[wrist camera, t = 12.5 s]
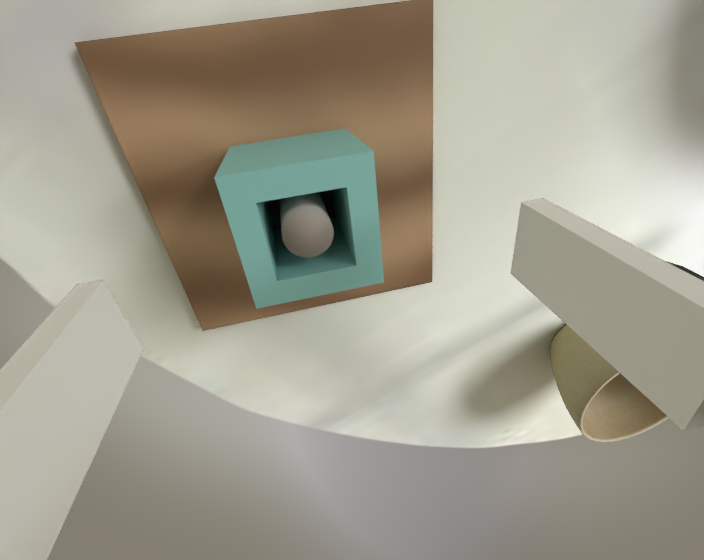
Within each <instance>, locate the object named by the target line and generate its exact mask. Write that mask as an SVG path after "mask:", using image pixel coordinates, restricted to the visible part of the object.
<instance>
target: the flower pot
mask: <svg viewBox="0 0 704 560" xmlns="http://www.w3.org/2000/svg"><path fill="white" fill-rule="evenodd" d="M550 354H551V363H552V368H553V373H554V376H555V380H556V383H557V386H558V389H559V392H560V395H561V397H562V399H563V401H564V403H565V406H566V408H567V409H568V411H569V413H570V415H571V417H572V418H573V420H574V422H575V423H576V425H577V426H578V428H579V429H580V431H581V432H582V434H583V435H584V436H585V437H586V438H588V439H590V440H593V441H597V442H611V441H618V440H623V439H626V438H629V437H632V436H635V435H638V434H640V433H642V432H644V431H647V430H649V429H651V428H652V427H654V426H656V425H658V424H660V423H661V422H663V421H664V420H666V419H667V418H669V417H668V416H667V415H666V414H665V413H663V412H662V411H661V410H660V409H659V408H658V407H657V406H656V405H655V404H654V403H652V402H651V401H650V400H649V399H648V398H647V397H646V396H645V395H644V394H643V393H641V392H640V391H639V390H638V389H637V388H636V387H635V386H634V385H633V384H632V383H630V382H629V381H628V380H627V379H626V378H625V377H624V376H623V375H622V374H621V373H620V372H618V371H617V370H616V369H615V368H614V367H613V366H612V365H611V364H610V363H609V362H607V361H606V360H605V359H604V358H603V357H602V356H601V355H600V354H599V353H598V352H596V351H595V350H594V349H593V348H592V347H591V346H590V345H589V344H588V343H587V342H585V341H584V340H583V339H582V338H581V337H580V336H579V335H578V334H577V333H576V332H574V331H573V330H572V329H571V328H570V327H569V326H568V325H565V326H564V327H563V328H562V329H561V330H560V331H559V332H558V333H557V334H556V335H555V337H554V338H553V340H552V342H551V346H550Z"/></svg>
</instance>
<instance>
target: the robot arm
mask: <svg viewBox="0 0 704 560" xmlns="http://www.w3.org/2000/svg"><path fill="white" fill-rule="evenodd" d="M511 274H512V275H513V276H514V277H515V278H516V279H517V280H518V281H519V282H521V283H522V284H523V285H524V286H525V287H526V288H527V289H528V290H529V291H530V292H532V293H533V294H534V295H535V296H536V297H537V298H538V299H539V300H540V301H541V302H543V303H544V304H545V305H546V306H547V307H548V308H549V309H550V310H551V311H552V312H554V313H555V314H556V315H557V316H558V317H559V318H560V319H561V320H562V321H563V322H565V323H566V324H567V325H568V326H569V327H570V328H571V329H572V330H573V331H574V332H576V333H577V334H578V335H579V336H580V337H581V338H582V339H583V340H584V341H585V342H587V343H588V344H589V345H590V346H591V347H592V348H593V349H594V350H595V351H596V352H598V353H599V354H600V355H601V356H602V357H603V358H604V359H605V360H606V361H607V362H609V363H610V364H611V365H612V366H613V367H614V368H615V369H616V370H617V371H618V372H620V373H621V374H622V375H623V376H624V377H625V378H626V379H627V380H628V381H629V382H630V383H632V384H633V385H634V386H635V387H636V388H637V389H638V390H639V391H640V392H641V393H643V394H644V395H645V396H646V397H647V398H648V399H649V400H650V401H651V402H652V403H654V404H655V405H656V406H657V407H658V408H659V409H660V410H661V411H662V412H663V413H665V414H666V415H667V416H668V417H669V418H670V419H672V421H674V422H675V423H676V424H677V425H678V426H679V427H680V428H681V429H682V430H683V431H684V430H688V429H692V428H696V427H700V426H704V277H702V276H701V275H699V274H697V273H695V272H693V271H691V270H689V269H687V268H685V267H683V266H679V265H676V264H673V263H670V262H666V261H664V260H662V259H660V258H658V257H656V256H654V255H652V254H650V253H648V252H646V251H644V250H642V249H640V248H639V247H637V246H635V245H633V244H631V243H629V242H627V241H625V240H623V239H621V238H619V237H617V236H615V235H613V234H611V233H609V232H608V231H606V230H604V229H602V228H600V227H598V226H596V225H594V224H592V223H590V222H588V221H586V220H584V219H582V218H580V217H578V216H577V215H575V214H573V213H571V212H569V211H567V210H565V209H563V208H561V207H559V206H557V205H555V204H553V203H551V202H549V201H548V200H546V199H544V198H542V199H536V200H531V201H525V202H521V208H520V214H519V221H518V228H517V234H516V241H515V248H514V254H513V261H512V268H511ZM143 349H144V347H143V345H142V344H141V342H140V340H139V339H138V337H137V335H136V334H135V332H134V330H133V328H132V327H131V325H130V323H129V322H128V320H127V318H126V317H125V315H124V313H123V312H122V310H121V308H120V307H119V305H118V303H117V301H116V300H115V298H114V296H113V295H112V293H111V291H110V290H109V288H108V286H107V285H106V283H105V281H104V280H99V281H93V282H88V283H83V284H77V285H76V286H75V287H74V288H73V289H72V290H71V291H70V292H69V293H68V295H67V296H66V297H65V298H64V299H63V300H62V301H61V302H60V303H59V305H58V306H57V307H56V308H55V309H54V310H53V311H52V313H51V314H50V315H49V316H48V317H47V318H46V319H45V320H44V321H43V323H42V324H41V325H40V326H39V327H38V328H37V329H36V330H35V331H34V333H33V334H32V335H31V336H30V337H29V338H28V339H27V341H26V342H25V343H24V344H23V345H22V346H21V347H20V348H19V349H18V351H17V352H16V353H15V354H14V355H13V356H12V357H11V358H10V360H9V361H8V362H7V363H6V364H5V365H4V366H3V367H2V369H1V370H0V560H47V558H48V556H49V554H50V551H51V549H52V547H53V545H54V542H55V540H56V538H57V536H58V534H59V532H60V530H61V527H62V525H63V523H64V521H65V519H66V517H67V514H68V512H69V510H70V508H71V506H72V503H73V501H74V499H75V497H76V495H77V493H78V490H79V488H80V486H81V484H82V482H83V480H84V478H85V475H86V473H87V471H88V469H89V467H90V465H91V462H92V460H93V458H94V456H95V454H96V451H97V449H98V447H99V445H100V443H101V440H102V438H103V436H104V434H105V432H106V430H107V428H108V425H109V423H110V421H111V419H112V417H113V415H114V412H115V410H116V408H117V406H118V403H119V401H120V399H121V397H122V395H123V393H124V391H125V389H126V386H127V384H128V382H129V380H130V378H131V375H132V373H133V371H134V369H135V367H136V365H137V362H138V360H139V358H140V356H141V354H142V352H143Z"/></svg>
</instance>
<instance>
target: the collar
mask: <svg viewBox="0 0 704 560" xmlns="http://www.w3.org/2000/svg"><path fill="white" fill-rule="evenodd" d="M214 178H215V181H216V184H217V188H218V191H219V194H220V197H221V200H222V203H223V206H224V209H225V213H226V216H227V219H228V222H229V225H230V228H231V231H232V234H233V237H234V241H235V244H236V247H237V250H238V253H239V256H240V259H241V262H242V265H243V269H244V272H245V275H246V278H247V281H248V284H249V287H250V290H251V293H252V297H253V300H254V303H255V306H256V309H258V308H263V307H268V306H272V305H277V304H282V303H287V302H292V301H297V300H301V299H306V298H311V297H316V296H321V295H326V294H330V293H335V292H340V291H345V290H350V289H355V288H359V287H364V286H369V285H374V284H379V283H384V275H383V262H382V250H381V237H380V224H379V211H378V199H377V186H376V173H375V160H374V151H373V150H372V149H371V148H369V147H368V146H367V145H366V144H365V143H363V142H362V141H361V140H360V139H358V138H357V137H356V136H355V135H353V134H352V133H351V132H350V131H348V130H347V129H346V128H344V129H338V130H331V131H325V132H318V133H312V134H306V135H299V136H293V137H287V138H280V139H274V140H267V141H261V142H255V143H248V144H242V145H236V146H230V147H229V149H228V151H227V153H226V155H225V157H224V159H223V161H222V163H221V165H220V167H219V169H218V171H217V173H216V175H215V177H214ZM327 190H332V196H333V203H334V210H335V216H336V218H332V219H330V221H331V223H332V226H333V229H334V236H333V240H332V243H331V245H330V246H329V248H328V249H327V250H326V251H325V252H323V253H322V254H320V255H318V256H315V257H307V258H306V257H300V256H297V255H295V254H293V253H291V252H290V251H289V250H288V249H287V248H286V246H285V245H284V242H283V239H282V231H281V228H278V229H275V227H274V223H273V219H272V215H271V211H270V206H269V202H268V201H270V200H276V199H282V198H287V197H293V196H299V195H305V194H310V193H316V192H322V191H327Z"/></svg>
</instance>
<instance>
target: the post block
mask: <svg viewBox="0 0 704 560" xmlns="http://www.w3.org/2000/svg"><path fill="white" fill-rule="evenodd" d="M75 45H76V47H77V49H78V52H79V54H80V56H81V58H82V60H83V63H84V65H85V67H86V69H87V72H88V74H89V76H90V78H91V81H92V83H93V85H94V87H95V90H96V92H97V94H98V96H99V99H100V101H101V103H102V105H103V108H104V110H105V112H106V114H107V117H108V119H109V121H110V123H111V126H112V128H113V130H114V132H115V135H116V137H117V139H118V141H119V143H120V146H121V148H122V150H123V152H124V155H125V157H126V159H127V161H128V164H129V166H130V168H131V170H132V173H133V175H134V177H135V179H136V182H137V184H138V186H139V188H140V191H141V193H142V195H143V197H144V200H145V202H146V204H147V206H148V209H149V211H150V213H151V215H152V218H153V220H154V222H155V224H156V227H157V229H158V231H159V233H160V235H161V238H162V240H163V242H164V244H165V247H166V249H167V251H168V253H169V256H170V258H171V260H172V262H173V265H174V267H175V269H176V271H177V274H178V276H179V278H180V280H181V283H182V285H183V287H184V289H185V292H186V294H187V296H188V298H189V301H190V303H191V305H192V307H193V310H194V312H195V314H196V316H197V319H198V321H199V323H200V325H201V327H202V330H203V331H204V330H209V329H214V328H218V327H223V326H228V325H232V324H237V323H242V322H247V321H251V320H256V319H261V318H265V317H270V316H275V315H279V314H284V313H289V312H293V311H298V310H303V309H307V308H312V307H317V306H321V305H326V304H331V303H336V302H340V301H345V300H350V299H354V298H359V297H364V296H368V295H373V294H378V293H382V292H387V291H392V290H396V289H401V288H406V287H410V286H415V285H420V284H425V283H429V282H432V181H433V0H411V1H403V2H395V3H387V4H379V5H371V6H363V7H355V8H347V9H339V10H331V11H323V12H315V13H307V14H299V15H291V16H283V17H275V18H267V19H259V20H251V21H243V22H235V23H227V24H219V25H211V26H203V27H195V28H187V29H179V30H171V31H163V32H155V33H147V34H139V35H131V36H123V37H115V38H107V39H99V40H91V41H83V42H75ZM344 128H346V129H347V130H348V131H350V132H351V133H352V134H353V135H355V136H356V137H357V138H358V139H360V140H361V141H362V142H363V143H365V144H366V145H367V146H368V147H369V148H371V149H372V150H373V151H374V160H375V173H376V186H377V199H378V211H379V224H380V237H381V250H382V262H383V275H384V283H379V284H374V285H369V286H364V287H359V288H355V289H350V290H345V291H340V292H335V293H330V294H326V295H321V296H316V297H311V298H306V299H301V300H297V301H292V302H287V303H282V304H277V305H272V306H268V307H263V308H258V309H256V306H255V303H254V300H253V297H252V293H251V290H250V287H249V284H248V281H247V278H246V275H245V272H244V269H243V265H242V262H241V259H240V256H239V253H238V250H237V247H236V244H235V241H234V237H233V234H232V231H231V228H230V225H229V222H228V219H227V216H226V213H225V209H224V206H223V203H222V200H221V197H220V194H219V191H218V188H217V184H216V181H215V178H214V177H215V175H216V173H217V171H218V169H219V167H220V165H221V163H222V161H223V159H224V157H225V155H226V153H227V151H228V149H229V147H230V146H236V145H242V144H248V143H255V142H261V141H267V140H274V139H280V138H287V137H293V136H299V135H306V134H312V133H318V132H325V131H331V130H338V129H344ZM268 202H269V206H270V211H271V215H272V219H273V223H274V227H275V229H278V228H281V231H282V239H283V242H284V245H285V246H286V248H287V249H288V250H289V251H290V252H291V253H293V254H295V255H297V256H300V257H306V258H307V257H315V256H318V255H320V254H322V253H323V252H325V251H326V250H327V249H328V248H329V246H330V245H331V243H332V240H333V236H334V229H333V226H332V223H331V221H330V219H332V218H336V216H335V210H334V203H333V196H332V190H327V191H322V192H316V193H310V194H305V195H299V196H293V197H287V198H282V199H276V200H270V201H268Z"/></svg>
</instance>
